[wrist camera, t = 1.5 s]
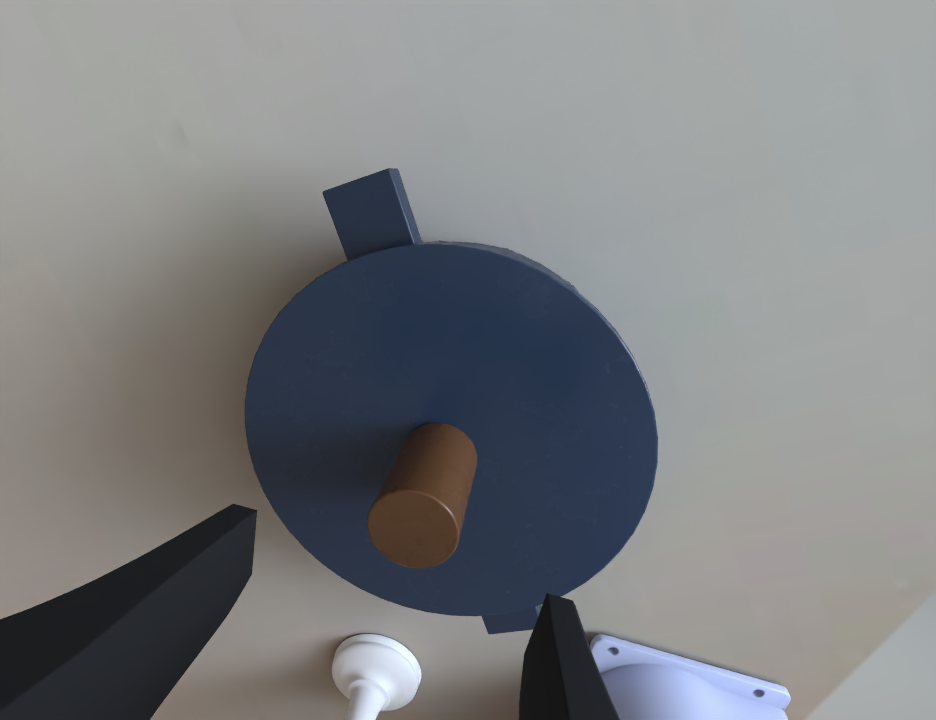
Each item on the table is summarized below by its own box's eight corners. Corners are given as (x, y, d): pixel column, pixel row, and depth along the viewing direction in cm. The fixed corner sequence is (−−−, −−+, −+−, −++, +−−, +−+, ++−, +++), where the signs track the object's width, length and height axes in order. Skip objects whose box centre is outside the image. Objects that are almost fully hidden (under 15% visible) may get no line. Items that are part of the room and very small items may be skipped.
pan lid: (600, 178, 15) (625, 182, 10) (685, 569, 19) (730, 699, 14) (195, 305, 18) (72, 352, 14) (343, 614, 22) (289, 732, 18)
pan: (562, 117, 18) (566, 102, 14) (663, 554, 23) (685, 628, 19) (234, 230, 21) (166, 243, 17) (392, 592, 26) (366, 662, 22)
